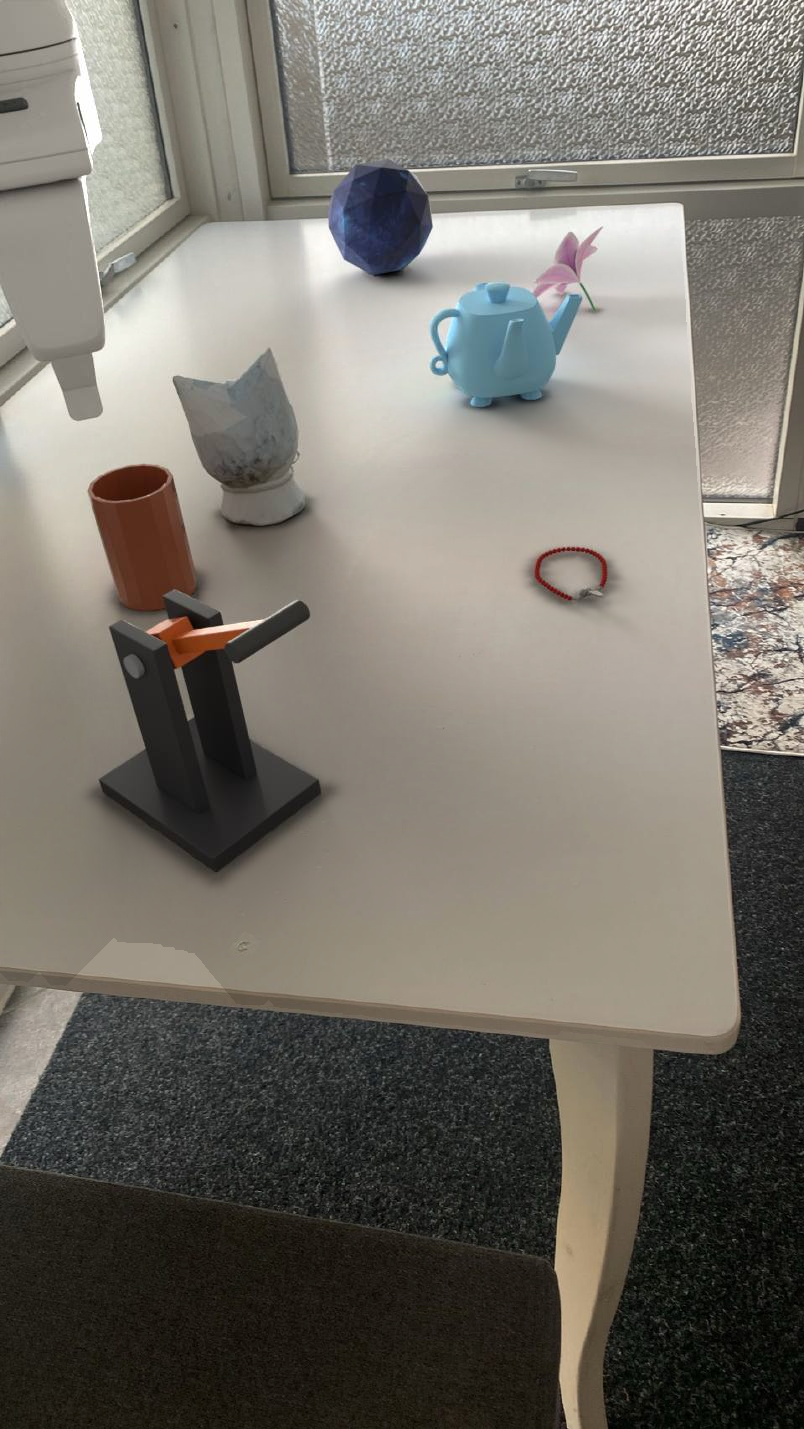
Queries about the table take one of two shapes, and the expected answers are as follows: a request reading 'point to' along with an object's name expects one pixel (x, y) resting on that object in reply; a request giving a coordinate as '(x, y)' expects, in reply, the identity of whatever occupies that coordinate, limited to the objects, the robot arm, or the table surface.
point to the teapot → (501, 342)
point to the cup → (143, 534)
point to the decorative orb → (380, 217)
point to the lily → (567, 265)
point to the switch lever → (227, 635)
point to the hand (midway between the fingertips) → (78, 384)
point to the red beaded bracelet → (583, 592)
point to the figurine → (247, 441)
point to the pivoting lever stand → (198, 749)
